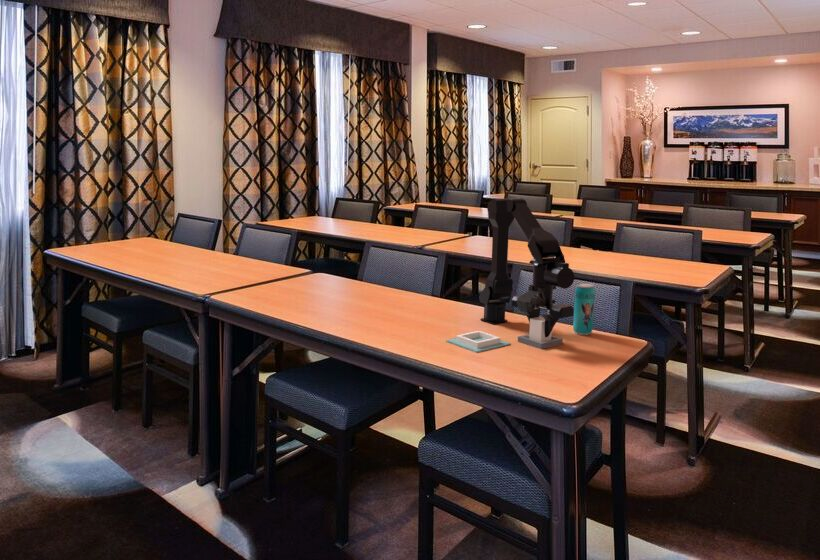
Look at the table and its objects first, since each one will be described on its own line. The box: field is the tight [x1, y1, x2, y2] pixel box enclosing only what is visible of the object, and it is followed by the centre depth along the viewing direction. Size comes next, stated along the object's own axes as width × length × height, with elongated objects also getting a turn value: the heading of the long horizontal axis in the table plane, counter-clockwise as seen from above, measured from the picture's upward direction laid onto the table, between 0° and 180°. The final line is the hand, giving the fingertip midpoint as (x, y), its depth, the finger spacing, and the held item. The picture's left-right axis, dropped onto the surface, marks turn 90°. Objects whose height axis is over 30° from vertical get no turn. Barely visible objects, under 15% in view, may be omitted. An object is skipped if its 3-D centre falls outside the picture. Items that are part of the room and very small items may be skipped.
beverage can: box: [572, 282, 596, 336], centre depth 188 cm, size 6×6×15 cm
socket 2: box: [517, 333, 564, 350], centre depth 179 cm, size 9×9×2 cm
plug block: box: [528, 315, 553, 342], centre depth 179 cm, size 4×5×7 cm
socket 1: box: [445, 330, 511, 354], centre depth 178 cm, size 13×13×2 cm
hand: (540, 335), depth 179 cm, fingers closed on plug block, 4 cm apart
